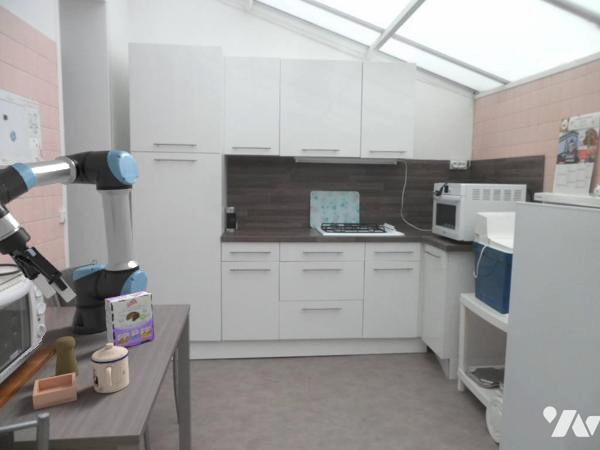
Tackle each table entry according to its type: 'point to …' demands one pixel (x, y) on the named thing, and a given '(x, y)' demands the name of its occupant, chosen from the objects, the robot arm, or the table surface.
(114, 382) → the teacup with lid
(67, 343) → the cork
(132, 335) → the candy box
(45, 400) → the tray
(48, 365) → the table surface
